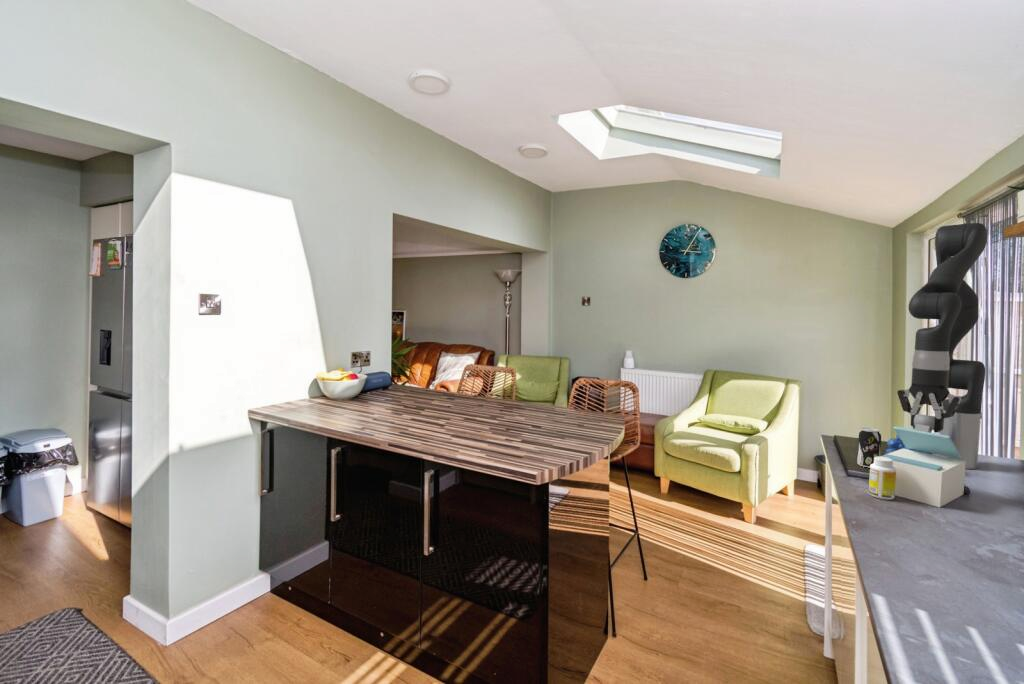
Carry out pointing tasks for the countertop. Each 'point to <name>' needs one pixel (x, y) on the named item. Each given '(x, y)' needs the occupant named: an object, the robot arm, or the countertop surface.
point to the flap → (927, 437)
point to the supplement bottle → (882, 478)
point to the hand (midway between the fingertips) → (926, 429)
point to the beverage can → (868, 446)
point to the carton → (927, 477)
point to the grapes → (898, 445)
